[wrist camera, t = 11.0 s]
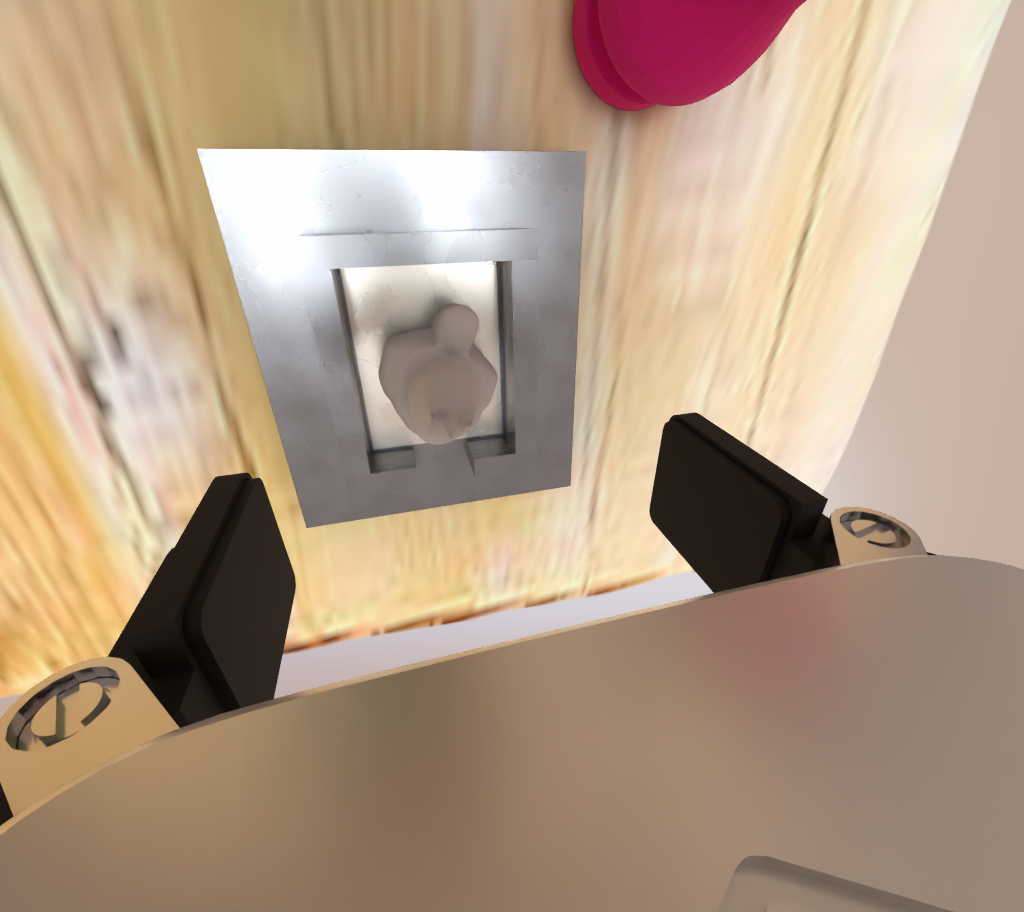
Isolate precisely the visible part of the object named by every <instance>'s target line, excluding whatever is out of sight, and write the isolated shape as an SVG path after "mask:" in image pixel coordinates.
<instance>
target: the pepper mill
mask: <svg viewBox="0 0 1024 912" xmlns="http://www.w3.org/2000/svg"><path fill="white" fill-rule="evenodd" d="M805 1H806V0H575V8H574V16H573V34H574V44H575V49H576V55H577V58H578V61H579V64H580V68H581V70H582V72H583V75H584V77H585V78H586V80H587V82H588V84H589V85H590V86H591V88H592V89H593V90H594V92H595V93H596V94H597V95H598V96H599V97H600V98H601V99H602V100H604V101H605V102H606V103H608V104H610V105H611V106H613V107H615V108H619V109H622V110H628V111H634V110H642V109H645V108H648V107H651V106H653V105H655V104H660V105H665V106H682V105H688V104H692V103H695V102H698V101H700V100H703V99H705V98H707V97H709V96H710V95H712V94H714V93H716V92H718V91H719V90H721V89H723V88H725V87H726V86H728V85H730V84H731V83H733V82H734V81H735V80H736V79H737V78H738V77H739V76H741V75H742V74H743V73H744V72H745V71H746V70H747V69H748V68H749V67H750V66H751V65H752V64H753V63H754V62H755V61H756V60H757V59H758V58H759V57H760V56H761V55H762V54H763V53H764V52H765V51H766V50H767V48H768V47H769V46H770V44H771V43H772V42H773V41H774V39H775V38H776V37H777V35H778V34H779V33H780V31H781V30H782V28H783V27H784V25H785V24H786V23H787V21H788V20H789V18H790V17H791V15H792V14H793V13H794V11H795V10H796V9H797V8H798V7H799V6H800V5H802V4H803V3H804V2H805Z"/></svg>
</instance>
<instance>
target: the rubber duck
mask: <svg viewBox="0 0 1024 912" xmlns="http://www.w3.org/2000/svg"><path fill="white" fill-rule="evenodd" d="M478 328H479V318H478V316H477V315H476V313H475V312H474V311H473V310H472V309H471V308H469V307H467V306H465V305H460V304H456V303H451V304H448V305H445V306H444V307H442V308H441V309H440V310H439V311H438V312H437V313H436V315H435V317H434V319H433V323H432V327H431V328H427V329H417V330H413V331H411V332H408V333H403V334H398V335H395V336H393V337H391V338H390V339H389V340H388V341H387V343H386V345H385V347H384V350H383V354H382V358H381V362H380V366H379V380H380V383H381V386H382V389H383V391H384V393H385V395H386V396H387V398H388V399H389V400H390V401H391V402H392V404H393V406H394V409H395V410H396V412H397V414H398V415H399V417H400V418H401V419H402V421H403V422H404V423H405V425H406V426H407V427H408V429H409V430H411V431H412V432H413V433H415V434H417V435H418V436H419V437H420V438H421V439H422V440H423V441H425V442H427V443H430V444H435V445H437V444H445V443H448V442H450V441H453V440H455V439H457V438H459V437H460V436H462V435H464V434H466V433H467V432H469V431H471V430H472V429H473V428H474V427H475V426H476V424H477V423H478V421H479V419H480V417H481V414H482V411H483V410H484V409H485V408H486V407H487V406H488V405H489V403H490V401H491V399H492V396H493V393H494V390H495V387H496V384H497V381H498V375H497V372H496V370H495V369H494V367H493V366H492V364H491V363H490V362H489V361H488V359H487V358H486V357H485V356H484V355H483V353H482V352H481V351H480V350H479V349H478V348H477V347H476V346H474V345H473V342H474V340H475V337H476V335H477V332H478Z"/></svg>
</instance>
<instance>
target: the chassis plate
mask: <svg viewBox="0 0 1024 912" xmlns="http://www.w3.org/2000/svg"><path fill="white" fill-rule="evenodd" d="M197 151H198V155H199V158H200V162H201V165H202V168H203V172H204V175H205V179H206V182H207V186H208V189H209V193H210V196H211V200H212V203H213V206H214V210H215V213H216V217H217V220H218V224H219V227H220V231H221V234H222V238H223V241H224V244H225V248H226V251H227V255H228V258H229V262H230V265H231V269H232V272H233V275H234V279H235V282H236V286H237V289H238V293H239V296H240V300H241V303H242V307H243V310H244V313H245V317H246V320H247V324H248V327H249V331H250V334H251V338H252V341H253V344H254V348H255V351H256V355H257V358H258V362H259V365H260V369H261V372H262V376H263V379H264V382H265V386H266V389H267V393H268V396H269V400H270V403H271V407H272V410H273V414H274V417H275V420H276V424H277V427H278V431H279V434H280V438H281V441H282V445H283V448H284V451H285V455H286V458H287V462H288V465H289V469H290V472H291V476H292V479H293V483H294V486H295V489H296V493H297V496H298V500H299V503H300V507H301V510H302V514H303V517H304V521H305V524H306V527H307V528H309V527H316V526H322V525H328V524H334V523H341V522H347V521H353V520H359V519H366V518H372V517H378V516H384V515H391V514H397V513H403V512H409V511H416V510H422V509H428V508H434V507H441V506H447V505H453V504H459V503H466V502H472V501H478V500H484V499H491V498H497V497H503V496H509V495H516V494H522V493H528V492H534V491H541V490H547V489H553V488H559V487H566V486H570V484H571V462H572V440H573V418H574V396H575V374H576V353H577V331H578V309H579V287H580V265H581V243H582V221H583V200H584V178H585V156H586V152H581V151H436V150H291V149H197ZM451 303H456V304H460V305H465V306H467V307H469V308H471V309H472V310H473V311H474V312H475V313H476V315H477V316H478V318H479V328H478V332H477V335H476V337H475V340H474V342H473V345H474V346H476V347H477V348H478V349H479V350H480V351H481V352H482V353H483V355H484V356H485V357H486V358H487V359H488V361H489V362H490V363H491V364H492V366H493V367H494V369H495V370H496V372H497V375H498V381H497V384H496V387H495V390H494V393H493V396H492V399H491V401H490V403H489V405H488V406H487V407H486V408H485V409H484V410H483V411H482V414H481V417H480V419H479V421H478V423H477V424H476V426H475V427H474V428H473V429H472V430H471V431H469V432H467V433H466V434H464V435H462V436H460V437H459V438H457V439H455V440H453V441H450V442H448V443H445V444H437V445H435V444H430V443H427V442H425V441H423V440H422V439H421V438H420V437H419V436H418V435H417V434H415V433H413V432H412V431H411V430H409V429H408V427H407V426H406V425H405V423H404V422H403V421H402V419H401V418H400V417H399V415H398V414H397V412H396V410H395V409H394V406H393V404H392V402H391V401H390V400H389V399H388V398H387V396H386V395H385V393H384V391H383V389H382V386H381V383H380V380H379V366H380V362H381V358H382V354H383V350H384V347H385V345H386V343H387V341H388V340H389V339H390V338H391V337H393V336H395V335H398V334H403V333H408V332H411V331H413V330H417V329H427V328H431V327H432V323H433V319H434V317H435V315H436V313H437V312H438V311H439V310H440V309H441V308H442V307H444V306H445V305H448V304H451Z"/></svg>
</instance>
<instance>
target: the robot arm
mask: <svg viewBox="0 0 1024 912" xmlns="http://www.w3.org/2000/svg"><path fill="white" fill-rule="evenodd" d="M827 500H828V499H827V498H825V497H824V496H822V495H821V494H819V493H818V492H816V491H815V490H813V489H812V488H810V487H809V486H807V485H805V484H804V483H802V482H801V481H799V480H798V479H796V478H795V477H793V476H792V475H790V474H789V473H787V472H786V471H784V470H783V469H781V468H780V467H778V466H777V465H775V464H774V463H772V462H771V461H769V460H768V459H766V458H765V457H763V456H762V455H760V454H759V453H757V452H756V451H754V450H753V449H751V448H750V447H748V446H747V445H745V444H744V443H742V442H741V441H739V440H737V439H736V438H734V437H733V436H731V435H730V434H728V433H727V432H725V431H724V430H722V429H721V428H719V427H718V426H716V425H715V424H713V423H712V422H710V421H709V420H707V419H706V418H704V417H703V416H701V415H700V414H698V413H688V414H681V415H674V416H672V417H671V418H670V420H669V422H667V423H665V425H664V428H663V433H662V439H661V445H660V451H659V456H658V462H657V468H656V474H655V480H654V486H653V492H652V498H651V503H650V516H651V519H652V521H653V523H654V524H655V525H656V526H657V527H658V529H659V530H660V531H661V532H662V533H663V534H664V536H665V537H666V538H667V539H668V540H669V541H670V543H671V544H672V545H673V546H674V547H675V548H676V549H677V551H678V552H679V553H680V554H681V555H682V556H683V558H684V559H685V560H686V561H687V562H688V563H689V565H690V566H691V567H692V568H693V569H694V570H695V572H696V573H697V574H698V575H699V576H700V577H701V578H702V580H703V581H704V582H705V583H706V584H707V585H708V587H709V588H710V589H711V590H712V591H713V592H714V593H712V594H708V595H704V596H699V597H695V598H691V599H686V600H682V601H678V602H673V603H669V604H664V605H660V606H656V607H652V608H647V609H643V610H639V611H634V612H630V613H625V614H621V615H617V616H613V617H608V618H604V619H600V620H595V621H592V622H587V623H583V624H579V625H574V626H570V627H566V628H562V629H557V630H553V631H549V632H544V633H541V634H536V635H532V636H527V637H523V638H519V639H515V640H511V641H506V642H502V643H499V644H495V645H490V646H486V647H482V648H477V649H473V650H469V651H465V652H461V653H457V654H452V655H448V656H444V657H440V658H436V659H432V660H427V661H423V662H419V663H415V664H411V665H407V666H402V667H398V668H394V669H390V670H386V671H382V672H377V673H374V674H369V675H365V676H361V677H357V678H354V679H349V680H346V681H342V682H338V683H333V684H329V685H325V686H321V687H318V688H313V689H309V690H305V691H302V692H298V693H294V694H291V695H287V696H283V697H280V698H276V699H274V694H275V689H276V684H277V679H278V674H279V669H280V664H281V659H282V654H283V649H284V644H285V639H286V634H287V629H288V624H289V619H290V614H291V609H292V604H293V600H294V595H295V588H296V583H295V575H294V572H293V569H292V566H291V563H290V560H289V557H288V554H287V551H286V548H285V545H284V542H283V540H282V537H281V534H280V531H279V528H278V525H277V522H276V519H275V516H274V513H273V510H272V507H271V504H270V501H269V499H268V496H267V493H266V490H265V487H264V484H263V482H262V480H261V479H260V478H254V479H252V477H251V475H250V474H249V473H240V474H233V475H225V476H218V477H215V478H214V479H213V481H212V483H211V485H210V486H209V488H208V490H207V492H206V493H205V495H204V497H203V499H202V500H201V502H200V504H199V506H198V507H197V509H196V511H195V513H194V514H193V516H192V518H191V520H190V521H189V523H188V525H187V527H186V528H185V530H184V532H183V534H182V535H181V537H180V539H179V541H178V542H177V544H176V546H175V548H173V549H171V550H170V552H169V553H168V554H167V556H166V557H165V559H164V561H163V563H162V564H161V566H160V568H159V569H158V571H157V573H156V575H155V576H154V578H153V580H152V581H151V583H150V585H149V587H148V588H147V590H146V592H145V594H144V595H143V597H142V599H141V600H140V602H139V604H138V606H137V607H136V609H135V611H134V612H133V614H132V616H131V618H130V619H129V621H128V623H127V625H126V626H125V628H124V630H123V631H122V633H121V635H120V637H119V638H118V640H117V642H116V643H115V645H114V647H113V649H112V650H111V652H110V654H109V655H108V657H102V658H95V659H89V660H86V661H83V662H80V663H77V664H74V665H71V666H69V667H67V668H65V669H63V670H61V671H59V672H57V673H55V674H53V675H51V676H49V677H47V678H46V679H44V680H43V681H42V682H40V683H39V684H37V685H36V686H34V687H33V688H31V689H30V690H28V691H27V692H26V693H25V694H24V695H23V696H21V697H20V698H19V699H18V700H17V701H16V702H15V703H14V704H13V705H12V706H10V707H9V709H8V710H7V711H6V712H5V713H4V715H3V716H2V717H1V718H0V912H1024V570H1023V569H1020V568H1017V567H1014V566H1010V565H1006V564H1002V563H997V562H991V561H986V560H980V559H974V558H965V557H954V556H944V555H936V554H932V553H928V552H926V550H925V548H924V546H923V544H922V541H921V539H920V538H919V537H918V535H917V534H916V532H915V531H914V530H912V529H911V528H910V527H909V526H907V525H906V524H904V523H903V522H901V521H899V520H897V519H896V518H894V517H891V516H889V515H886V514H884V513H882V512H878V511H875V510H871V509H866V508H859V507H843V508H840V509H836V510H835V511H834V512H833V513H832V514H831V516H830V518H828V517H826V516H825V515H823V514H822V512H823V510H824V508H825V505H826V503H827Z"/></svg>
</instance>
